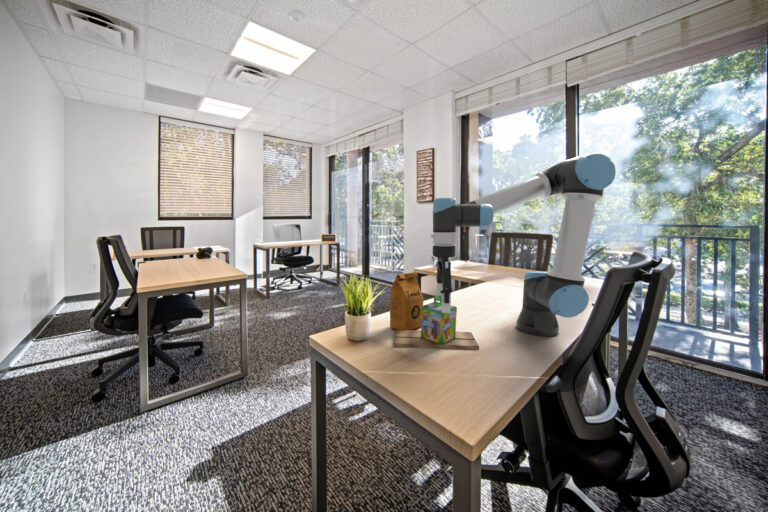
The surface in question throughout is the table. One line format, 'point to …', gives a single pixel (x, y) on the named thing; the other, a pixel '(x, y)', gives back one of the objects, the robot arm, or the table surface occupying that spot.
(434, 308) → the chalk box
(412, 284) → the coffee package
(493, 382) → the table surface
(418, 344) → the wooden board
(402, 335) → the plank
